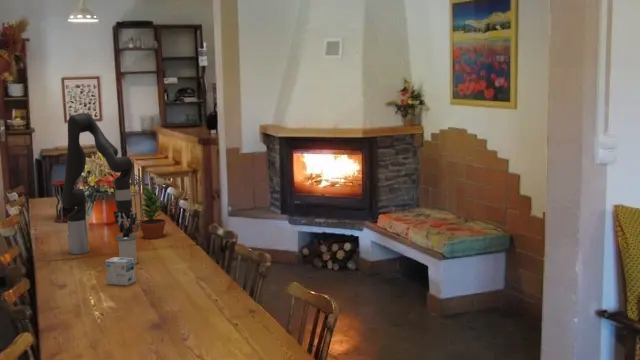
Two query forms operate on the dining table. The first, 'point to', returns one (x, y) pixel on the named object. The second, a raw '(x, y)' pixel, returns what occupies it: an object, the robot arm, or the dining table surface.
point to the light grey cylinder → (128, 249)
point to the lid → (126, 236)
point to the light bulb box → (120, 271)
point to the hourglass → (62, 211)
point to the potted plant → (151, 216)
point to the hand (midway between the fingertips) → (126, 232)
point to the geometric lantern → (134, 198)
